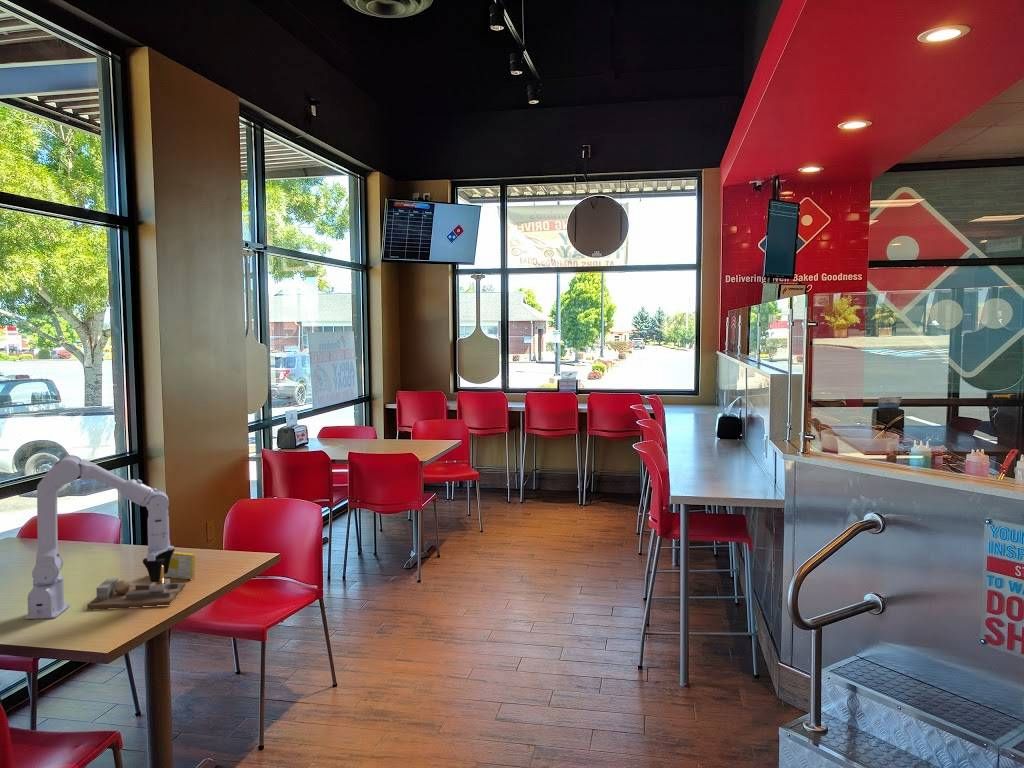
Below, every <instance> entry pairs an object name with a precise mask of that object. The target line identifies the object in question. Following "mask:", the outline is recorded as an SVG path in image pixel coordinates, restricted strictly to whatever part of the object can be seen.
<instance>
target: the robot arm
mask: <svg viewBox="0 0 1024 768" xmlns="http://www.w3.org/2000/svg"><path fill="white" fill-rule="evenodd" d="M79 477H80V479H79V480H80V481H86V480H95V481H97V482H99V483H102V484H104V485H106V486H108V487H111V488H113V489H115V490H117V491H119V492H120V496H121V497H122V498H124V499H126V500H129V501H130V502H132V503H134V504H136V505H139V506H140V507H146V509H147V511H148V517H147V555H146V558H143V559H142V564H143V565H144V566H145V568H146V570H147V573H148V575H149V580H150V583H153V582H159V581H160V576H161V568H162V565H164V574H167V573H168V570H169V564H170V560H171V557H172V554H173V552H175V547H174V545H171V540H170V518H169V517H170V516H169V509H168V508H169V506H170V503H169V497H168V494H167V493H165V492H164V491H163V490H161V489H159V490H158V488H156V487H154V488H152V487H150V486H148V485H146V484H145V483H143V480H141V479H139V478H137V480H136V479H134V478H133V479H127V480H125V479H124V478H122V477H120V476H118V475H117V474H115V473H113V472H110V470H108V469H105V468H104V467H101V466H99V465H97V464H96V463H94V462H92V461H90V460H87V459H84V458H80V457H79V456H77V455H74V454H72V455H71V454H69V455H66V456H63V457H62V458H60V459H59V460H58V461H56V462H55V463H54V464H53V465H52V466H51V467H50V468H49V470H48V471H47V472H46V473H45V475H44V476H43V478H42V479H41V480H40V481H39V482H38V484H37V486H36V508H37V509H36V511H37V512H36V513H37V514H36V515H37V516H36V517H37V519H36V522H37V525H36V526H37V552H36V557H35V565H34V566H33V569H32V572H31V576H32V578H33V580H32V589H31V590H30V591H29V593H28V595H27V615H25V616H24V620H32V619H36V620H37V619H38V620H39V619H53V618H54V619H55V618H57V617H58V616H59V615H61V614H62V613H63V612H65V610H67V609H68V608H69V607H70V606H71V603H65V596H64V595H65V594H64V593H65V590H64V575H62V574H61V573H60V571H61V570H62V568H63V564H64V560H63V558H62V557H61V555H60V548H59V542H58V541H59V539H58V536H59V533H58V532H59V531H58V491H59V490H60V489H61V488H62V487H64V486H65V485H67V484H69V483H72V482H74V481H76V480H77V479H78V478H79Z"/></svg>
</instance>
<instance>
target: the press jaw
mask: <svg viewBox="0 0 1024 768" xmlns="http://www.w3.org/2000/svg"><path fill="white" fill-rule="evenodd" d="M170 583H171V578H165V577H164V565H162V568H161V576H160V581H159V582H151V583H150V584H151V585H150V586H149V593H161V592H167V591H168V590H169V589H170Z"/></svg>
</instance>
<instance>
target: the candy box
mask: <svg viewBox="0 0 1024 768" xmlns="http://www.w3.org/2000/svg"><path fill="white" fill-rule="evenodd" d="M167 577H173V578H172V579H176V578H182V579H181V580H185V579H193V580H195V579H196V553H192V552H191V553H188V552H179V551H174V552H173V554H172V557H171V560H170V564H169V570H168V573H167V574H164V578H167ZM194 578H195V579H194Z"/></svg>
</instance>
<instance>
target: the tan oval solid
mask: <svg viewBox="0 0 1024 768" xmlns="http://www.w3.org/2000/svg"><path fill="white" fill-rule="evenodd" d="M130 585H131V584H130V583H129V582H128V581H127V580H123V579H122V580H118V582H117V583H116V585H115V588H114V589H115V592H116V593H117V594H125V593H127V592H128V591H129V588H130Z"/></svg>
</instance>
